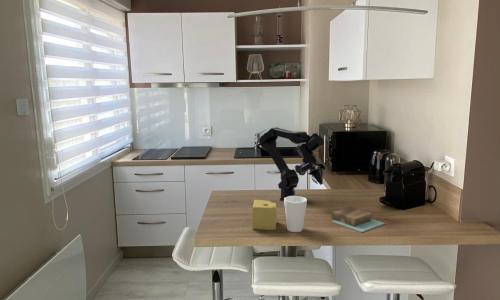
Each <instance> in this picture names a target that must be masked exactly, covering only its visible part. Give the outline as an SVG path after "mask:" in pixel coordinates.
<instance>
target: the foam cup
mask: <svg viewBox="0 0 500 300" xmlns="http://www.w3.org/2000/svg"><path fill="white" fill-rule="evenodd" d="M307 202H308V199H307V198H306V197H304V196H298V195H295V196H289V197H285V198H284V201H283V206H284V211H285V219H286V220H285V221H286V229H287V231H288V232H292V233H299V232H300V233H301V232H302V231H303V229H304V222H305V216H306V215H305V214H306V210H307V207H308V203H307Z"/></svg>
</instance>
